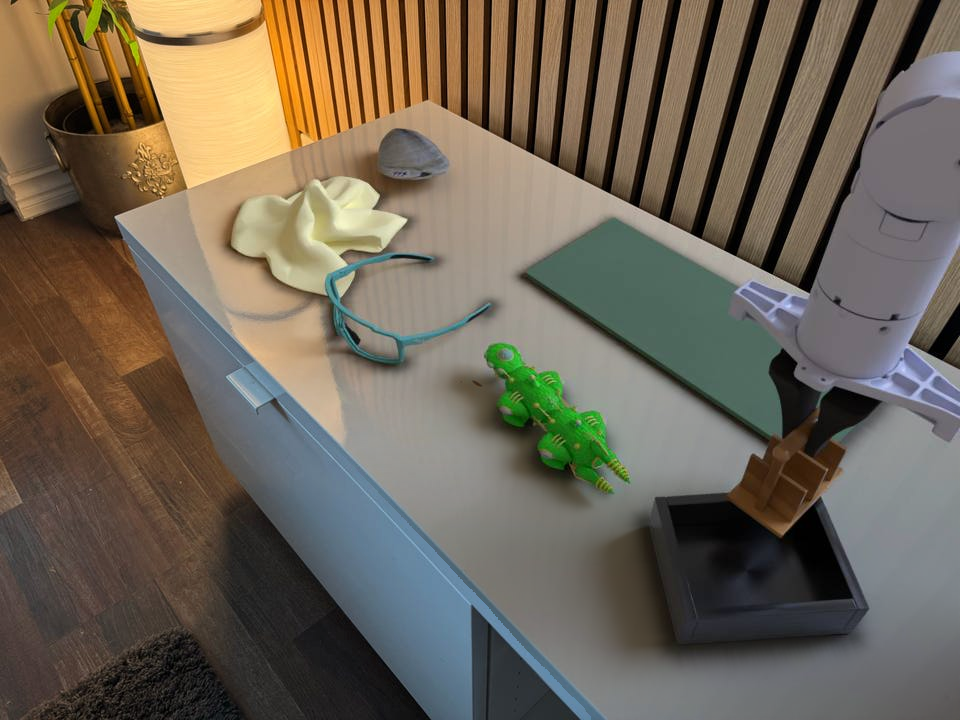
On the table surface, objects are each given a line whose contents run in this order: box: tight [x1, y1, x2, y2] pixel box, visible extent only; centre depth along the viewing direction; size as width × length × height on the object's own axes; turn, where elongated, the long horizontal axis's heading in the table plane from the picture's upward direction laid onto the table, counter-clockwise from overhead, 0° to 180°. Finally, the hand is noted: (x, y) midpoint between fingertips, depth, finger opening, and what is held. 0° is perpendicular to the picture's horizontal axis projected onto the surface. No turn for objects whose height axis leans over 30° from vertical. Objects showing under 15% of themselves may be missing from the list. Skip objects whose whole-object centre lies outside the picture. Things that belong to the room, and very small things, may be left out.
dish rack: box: [726, 405, 849, 538], centre depth 52 cm, size 8×4×7 cm, turn 132°
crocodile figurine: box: [483, 342, 632, 495], centre depth 64 cm, size 7×18×4 cm, turn 34°
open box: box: [648, 492, 870, 646], centre depth 54 cm, size 12×10×4 cm
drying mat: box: [524, 216, 858, 443], centre depth 74 cm, size 34×14×1 cm, turn 41°
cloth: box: [230, 175, 408, 299], centre depth 84 cm, size 22×19×6 cm
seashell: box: [376, 127, 451, 181], centre depth 93 cm, size 12×8×5 cm
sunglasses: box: [325, 252, 492, 365], centre depth 75 cm, size 14×15×5 cm
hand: (804, 439), depth 51 cm, fingers closed on dish rack
